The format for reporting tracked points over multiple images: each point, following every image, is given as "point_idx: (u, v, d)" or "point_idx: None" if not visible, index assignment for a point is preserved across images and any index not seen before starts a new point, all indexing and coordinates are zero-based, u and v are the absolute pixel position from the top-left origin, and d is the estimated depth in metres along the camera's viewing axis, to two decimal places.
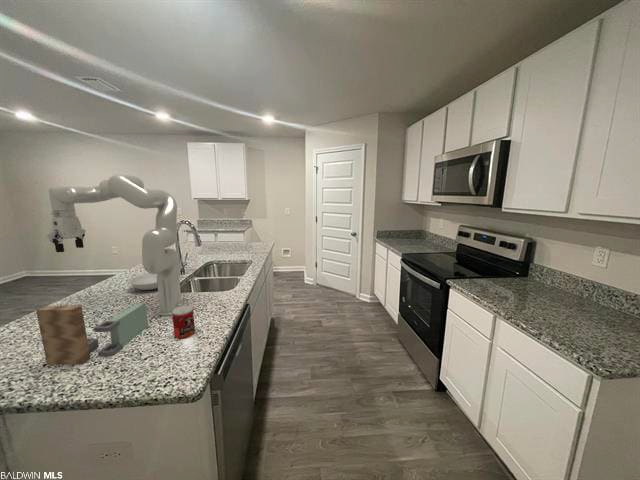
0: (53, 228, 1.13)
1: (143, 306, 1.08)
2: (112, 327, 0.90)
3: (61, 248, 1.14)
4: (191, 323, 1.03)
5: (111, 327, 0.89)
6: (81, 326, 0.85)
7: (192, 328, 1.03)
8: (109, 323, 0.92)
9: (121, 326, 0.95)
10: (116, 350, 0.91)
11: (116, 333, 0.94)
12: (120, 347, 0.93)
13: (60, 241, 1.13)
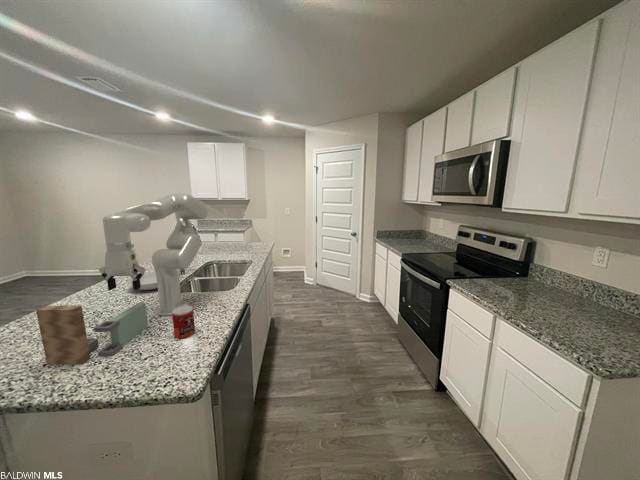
0: (131, 263, 0.96)
1: (143, 306, 1.08)
2: (112, 327, 0.90)
3: None
4: (191, 323, 1.03)
5: (111, 327, 0.89)
6: (81, 326, 0.85)
7: (192, 328, 1.03)
8: (109, 323, 0.92)
9: (121, 326, 0.95)
10: (116, 350, 0.91)
11: (116, 333, 0.94)
12: (120, 347, 0.93)
13: None
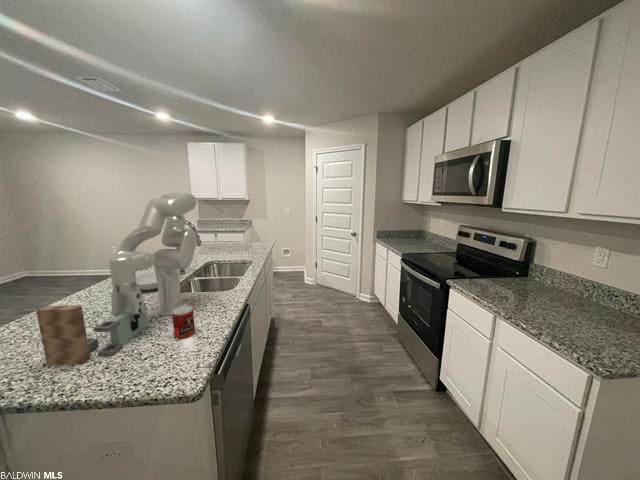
0: (137, 302, 0.99)
1: None
2: (112, 327, 0.90)
3: None
4: (191, 323, 1.03)
5: (111, 327, 0.89)
6: (81, 326, 0.85)
7: (192, 328, 1.03)
8: (109, 323, 0.92)
9: (121, 326, 0.95)
10: (116, 350, 0.91)
11: (116, 333, 0.94)
12: (120, 347, 0.93)
13: None
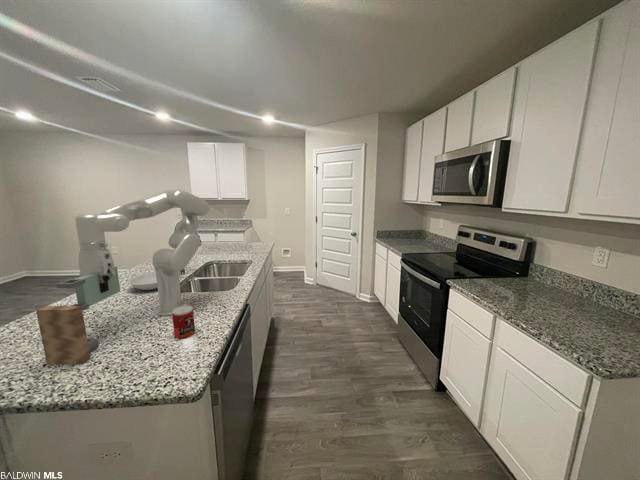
0: (105, 262, 0.96)
1: (115, 270, 1.04)
2: (76, 284, 0.86)
3: None
4: (191, 323, 1.03)
5: (75, 284, 0.86)
6: (81, 326, 0.85)
7: (192, 328, 1.03)
8: (74, 281, 0.89)
9: (88, 286, 0.92)
10: None
11: (82, 292, 0.90)
12: (86, 306, 0.90)
13: None
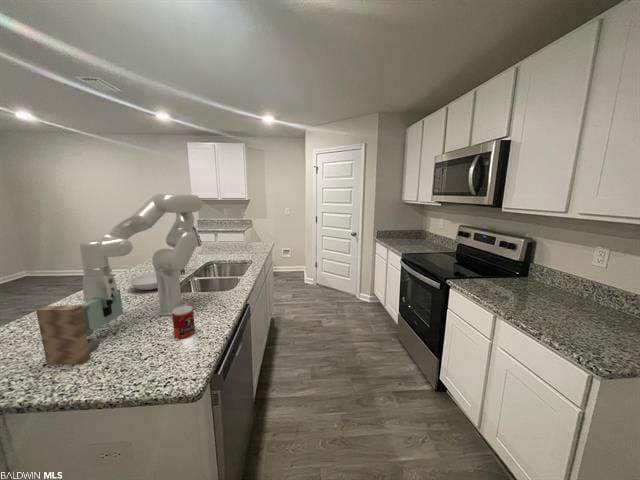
0: (109, 287, 0.97)
1: (118, 293, 1.06)
2: None
3: None
4: (191, 323, 1.03)
5: None
6: (81, 326, 0.85)
7: (192, 328, 1.03)
8: None
9: (92, 311, 0.94)
10: None
11: (86, 318, 0.92)
12: (90, 332, 0.92)
13: None
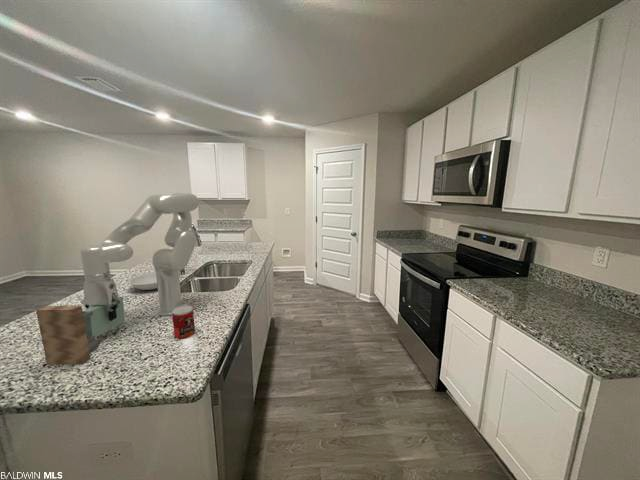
0: (110, 293, 0.98)
1: None
2: (84, 316, 0.89)
3: (115, 314, 1.02)
4: (191, 323, 1.03)
5: (83, 316, 0.89)
6: (81, 326, 0.85)
7: (192, 328, 1.03)
8: None
9: (95, 317, 0.95)
10: None
11: (89, 324, 0.93)
12: (92, 338, 0.93)
13: None
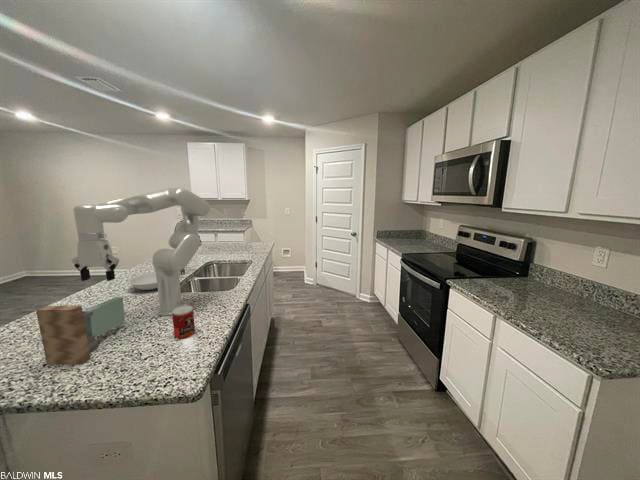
0: (104, 253, 0.95)
1: (121, 300, 1.08)
2: (84, 316, 0.89)
3: None
4: (191, 323, 1.03)
5: (83, 316, 0.89)
6: (81, 326, 0.85)
7: (192, 328, 1.03)
8: None
9: (95, 317, 0.95)
10: None
11: (89, 324, 0.93)
12: (92, 338, 0.93)
13: None
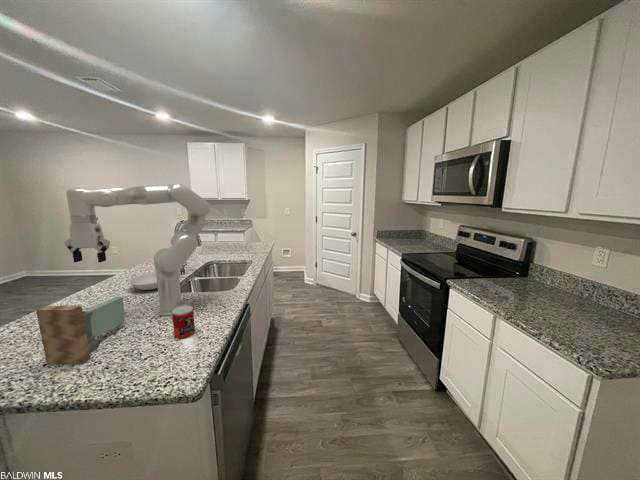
0: (96, 235, 0.99)
1: (121, 300, 1.08)
2: (84, 316, 0.89)
3: None
4: (191, 323, 1.03)
5: (83, 316, 0.89)
6: (81, 326, 0.85)
7: (192, 328, 1.03)
8: None
9: (95, 317, 0.95)
10: None
11: (89, 324, 0.93)
12: (92, 338, 0.93)
13: None
